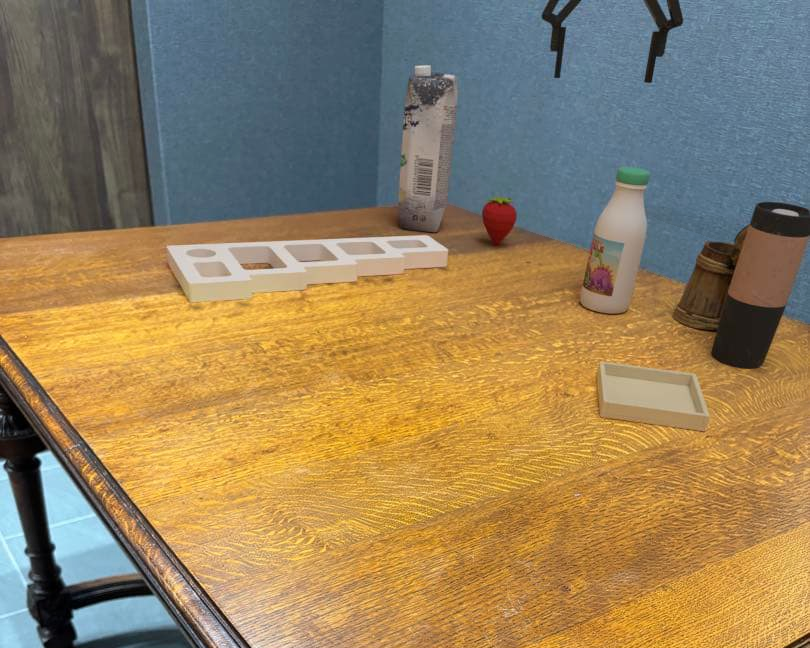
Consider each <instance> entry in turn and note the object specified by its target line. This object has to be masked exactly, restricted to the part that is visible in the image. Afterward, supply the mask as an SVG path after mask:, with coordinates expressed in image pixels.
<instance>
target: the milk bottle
mask: <svg viewBox="0 0 810 648" xmlns="http://www.w3.org/2000/svg"><path fill="white" fill-rule="evenodd" d="M650 177H651V172H650V171H649V170H647V169H644V168H641V167H635V166H621V167H619V168H618V169H617V172H616V176H615V182H614V184H615V189H614V191H613V194H612V196H611V198H610V200H609V201H608V203H607V205H606V206H605V207H604V209H603V210H602V212H601V213H600V215H599V217H598V219H597V221H596V224H595V228H594V231H593V236H592V240H591V243H590V248H589V253H588V258H587V263H586V267H585V273H584V277H583V282H582V286H581V292H580V297H579V301H580V304H581V306H583V307H584V308H586V309H588V310H591V311H593V312H597V313H603V314H611V315H612V314H614V315H615V314H623V313H625V312H627V311H628V310H629V308H630V305H631V301H632V297H633V294H634V289H635V285H636V282H637V277H638V273H639V269H640V265H641V261H642V256H643V252H644V249H645V248H644V247H645V242H646V237H647V230H648V229H647V228H648V226H647V225H648V221H647V215H646V211H645V210H646V209H645V199H644V198H645V191H646V189H647V188H648V183H649V182H650Z"/></svg>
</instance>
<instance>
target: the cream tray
mask: <svg viewBox="0 0 810 648" xmlns="http://www.w3.org/2000/svg"><path fill="white" fill-rule="evenodd" d="M597 366H598V367H597V371H596V386H597V396H598V397H597V398H598V409H599V417H600V418H604V419H605V418H606V419H613V420H620V421H627V422H633V423H634V422H635V423H640V424H648V425H656V426H661V427H662V426H663V427H670V428H677V429H685V430H691V431H699V432H706V431H707V427H708V424H709V421H710V418H711V415H710V412H709V408H708V406H707V403H706V399H705V397H704V394H703V391H702V388H701V385H700V382H699V379H698V376H697V373H691V372H684V371H675V370H669V369H661V368H655V367H654V368H653V367H647V366H639V365H631V364H625V363H617V362H616V363H615V362H609V361H602V360H599V362H598V365H597Z"/></svg>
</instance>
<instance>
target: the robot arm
mask: <svg viewBox="0 0 810 648" xmlns="http://www.w3.org/2000/svg"><path fill="white" fill-rule="evenodd" d="M559 1H560V0H548V2H547V4H546V6H545V7H544V9H543V11H542V13H541V16H540V17H541V19H542V20H543V21H544V22H546V23H547V24H550V25H551V36H550V45H549V48H550V49H549V50H550V52H553V53H555V52H556V58H555V66H554V73H553V78H554V79H560V78H561V73H562V64H563V58H564V57H563V56H564V47H565V39H566V31H567V26H562V24H563V22H564V21H565V20H566V19H567V18H568V17H569V16H570V14H571V13H572V12H573V11H574V10H575V9H576V8H577V6H578V5H579V4H580V3H581V2H582V0H569V1H568V2H567V3H566V4H565V5H564V6H563V7H562V9H561V10H560V11H559V12H558V13H557V14H555V13H554V10H555V9H556V7H557V5H558V3H559ZM665 1H666V5H667V9H668V13H669V17H670V19H668V18H667V16H666V15H665V13H664V10H663V9H662V7H661V5H660V3H659V1H658V0H643V3H644V4H645V6H646V8H647V9H648V12H649V14H650V15H651V17H652V19H653V21H654V24H655V25H656V27H657V29H658V31H657V30H655V31H652V34H651V38H650V45H649V51H648V56H647V63H646V68H645V74H644V79H643V82H644V83H646V84H652V82H653V77H654V72H655V67H656V60H657V58H663V56H664V54H665V51H666V47H667V46H666V45H667V41H668V35H669V33H670V31H671V30H672V29H675V28H676V29H677V28H678V27H681V26H682V25H683V23H684V18H683V13H682V8H681V4H680V0H665Z"/></svg>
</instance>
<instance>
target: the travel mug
mask: <svg viewBox="0 0 810 648" xmlns="http://www.w3.org/2000/svg"><path fill="white" fill-rule="evenodd" d="M749 224H750V225H749ZM749 224H748V225H749V228H748V231H747V234H746V237H745V240H744V243H743V247H742V250H741V253H740V256H739V259H738V262H737V265H736V268H735V271H734V274H733V278H732V281H731V284H730V287H729V290H728V294H727V297H726V300H725V304H724V308H723V311H722V315H721V318H720V322H719V326H718V329H717V331H716V333H715V336H714V340H713V343H712V347H711V351H710V352H711V353H710V354H711V356H712V358H714V359H715V360H716V361H718V362H720V363H722V364H725V365H728V366H731V367H735V368H741V369H756V368H757V369H758V368H760V367H762V366H763V364H764V363H765V361H766V358H767V355H768V353H769V350H770V348H771V346H772V343H773V340H774V338H775V335H776V332H777V330H778V327H779V325H780V323H781V319H782V317H783V315H784V312H785V310H786V307H787V305H788V303H789V302H788V301H789V299H790V296H791V293H792V290H793V287H794V284H795V282H796V279H797V275H798V273H799V270H800V267H801V264H802V262H803V258H804V256H805V253H806V249H807V246H808V243H809V241H810V209H809V208H808V207H804V206H801V205H797V204H793V203H785V202H778V201H761V202H757V203H756V205H755V207H754V210H753V213H752V216H751V219H750V222H749Z"/></svg>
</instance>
